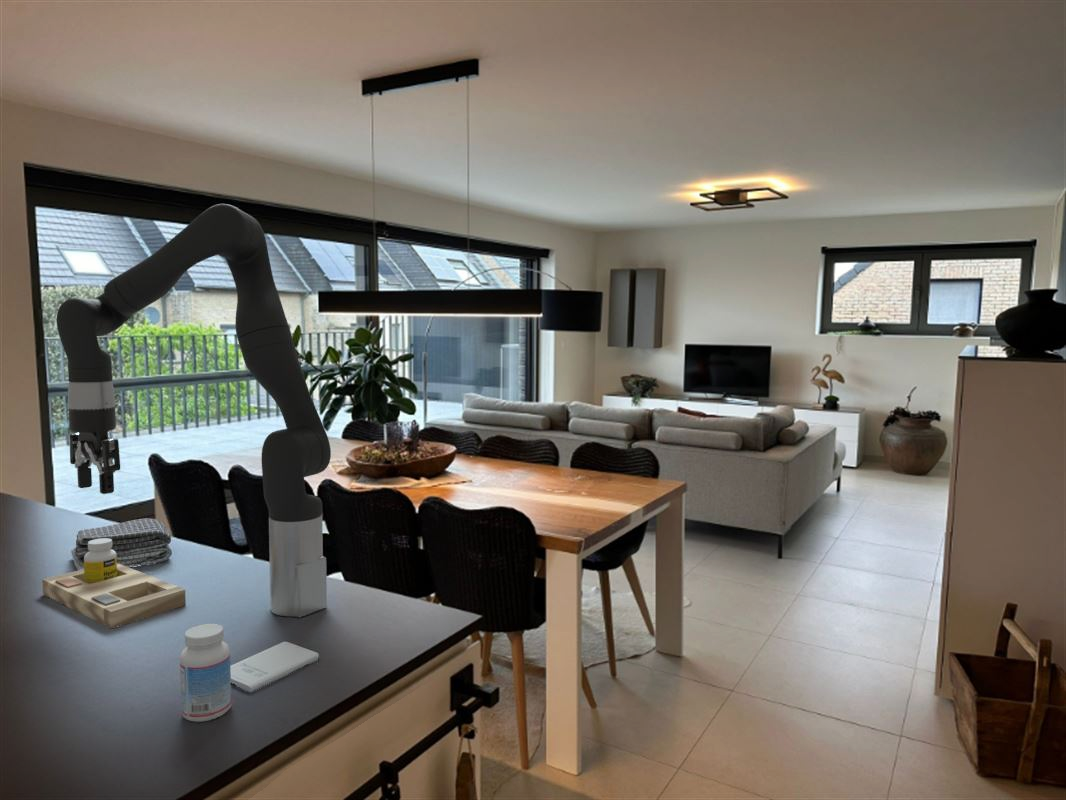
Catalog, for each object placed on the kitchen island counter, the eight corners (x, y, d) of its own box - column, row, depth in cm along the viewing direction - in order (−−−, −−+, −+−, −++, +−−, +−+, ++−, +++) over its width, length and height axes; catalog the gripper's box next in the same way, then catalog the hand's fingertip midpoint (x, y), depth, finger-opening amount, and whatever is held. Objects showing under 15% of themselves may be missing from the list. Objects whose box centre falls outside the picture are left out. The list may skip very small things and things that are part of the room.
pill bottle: (241, 704, 98) (239, 625, 97) (207, 727, 92) (205, 643, 91) (206, 696, 100) (203, 618, 99) (170, 718, 94) (168, 635, 93)
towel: (174, 562, 156) (173, 527, 155) (74, 578, 146) (72, 540, 145) (163, 545, 169) (162, 512, 168) (71, 558, 158) (69, 523, 157)
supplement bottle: (106, 596, 136) (104, 545, 135) (78, 595, 136) (76, 544, 135) (123, 585, 141) (121, 537, 140) (96, 585, 141) (94, 536, 140)
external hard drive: (319, 663, 112) (250, 697, 101) (283, 650, 116) (214, 681, 105) (319, 653, 112) (250, 685, 101) (283, 640, 116) (214, 670, 105)
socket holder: (185, 605, 132) (185, 587, 132) (111, 628, 121) (111, 610, 121) (114, 576, 147) (114, 560, 146) (43, 594, 136) (42, 577, 136)
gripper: (131, 406, 134) (135, 491, 136) (94, 401, 142) (98, 482, 144) (88, 409, 128) (93, 499, 130) (52, 404, 136) (56, 488, 138)
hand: (95, 490), depth 137 cm, fingers open, 8 cm apart
